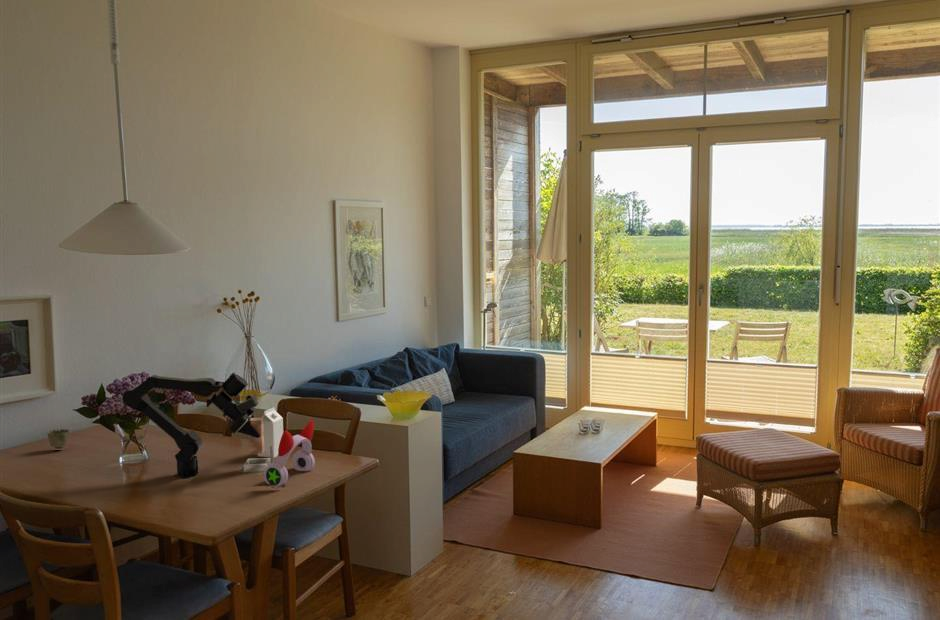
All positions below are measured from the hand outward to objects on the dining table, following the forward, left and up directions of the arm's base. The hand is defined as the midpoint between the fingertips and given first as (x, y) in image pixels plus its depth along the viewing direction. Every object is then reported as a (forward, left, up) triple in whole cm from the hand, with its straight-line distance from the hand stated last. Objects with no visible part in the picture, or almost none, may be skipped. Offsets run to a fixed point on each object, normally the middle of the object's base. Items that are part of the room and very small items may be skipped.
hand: (260, 435), depth 275 cm
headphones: (-2, -16, -14) cm, 21 cm away
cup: (-17, +93, -14) cm, 96 cm away
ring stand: (-1, +1, -13) cm, 14 cm away
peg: (-1, +1, -6) cm, 6 cm away
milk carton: (+15, +10, -14) cm, 23 cm away
